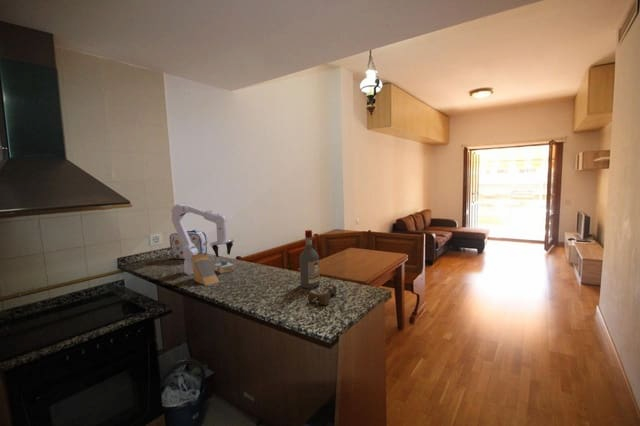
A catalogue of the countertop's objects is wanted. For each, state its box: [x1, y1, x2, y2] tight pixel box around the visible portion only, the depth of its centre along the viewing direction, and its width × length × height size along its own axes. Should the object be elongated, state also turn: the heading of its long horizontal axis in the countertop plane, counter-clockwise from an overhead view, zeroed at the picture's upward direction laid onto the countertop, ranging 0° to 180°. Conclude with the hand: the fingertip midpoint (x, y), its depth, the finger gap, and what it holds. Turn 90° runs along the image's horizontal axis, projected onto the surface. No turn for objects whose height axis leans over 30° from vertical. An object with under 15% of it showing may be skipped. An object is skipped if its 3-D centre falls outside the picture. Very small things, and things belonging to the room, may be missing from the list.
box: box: [214, 265, 235, 275], centre depth 198 cm, size 10×8×3 cm
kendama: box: [307, 283, 338, 306], centre depth 147 cm, size 6×10×20 cm
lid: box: [214, 259, 235, 269], centre depth 197 cm, size 10×8×3 cm
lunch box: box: [169, 229, 209, 260], centre depth 230 cm, size 28×10×22 cm, turn 81°
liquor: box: [299, 229, 321, 289], centre depth 166 cm, size 9×9×30 cm
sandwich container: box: [192, 253, 220, 287], centre depth 178 cm, size 9×15×15 cm, turn 46°
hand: (222, 255), depth 195 cm, fingers open, 7 cm apart
